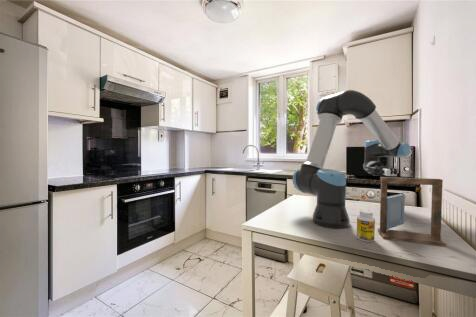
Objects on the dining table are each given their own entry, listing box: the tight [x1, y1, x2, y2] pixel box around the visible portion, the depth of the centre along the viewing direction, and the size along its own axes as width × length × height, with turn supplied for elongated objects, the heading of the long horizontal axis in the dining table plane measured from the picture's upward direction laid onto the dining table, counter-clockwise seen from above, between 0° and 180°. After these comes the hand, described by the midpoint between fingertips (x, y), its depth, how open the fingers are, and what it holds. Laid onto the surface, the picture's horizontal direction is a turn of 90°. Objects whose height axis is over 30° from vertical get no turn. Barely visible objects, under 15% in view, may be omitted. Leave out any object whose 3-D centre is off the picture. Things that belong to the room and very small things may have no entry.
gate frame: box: [377, 176, 446, 247], centre depth 78 cm, size 18×8×22 cm, turn 69°
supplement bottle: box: [356, 209, 376, 243], centre depth 77 cm, size 6×6×10 cm
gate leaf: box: [386, 193, 406, 230], centre depth 85 cm, size 13×2×12 cm, turn 119°
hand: (388, 172), depth 95 cm, fingers closed
